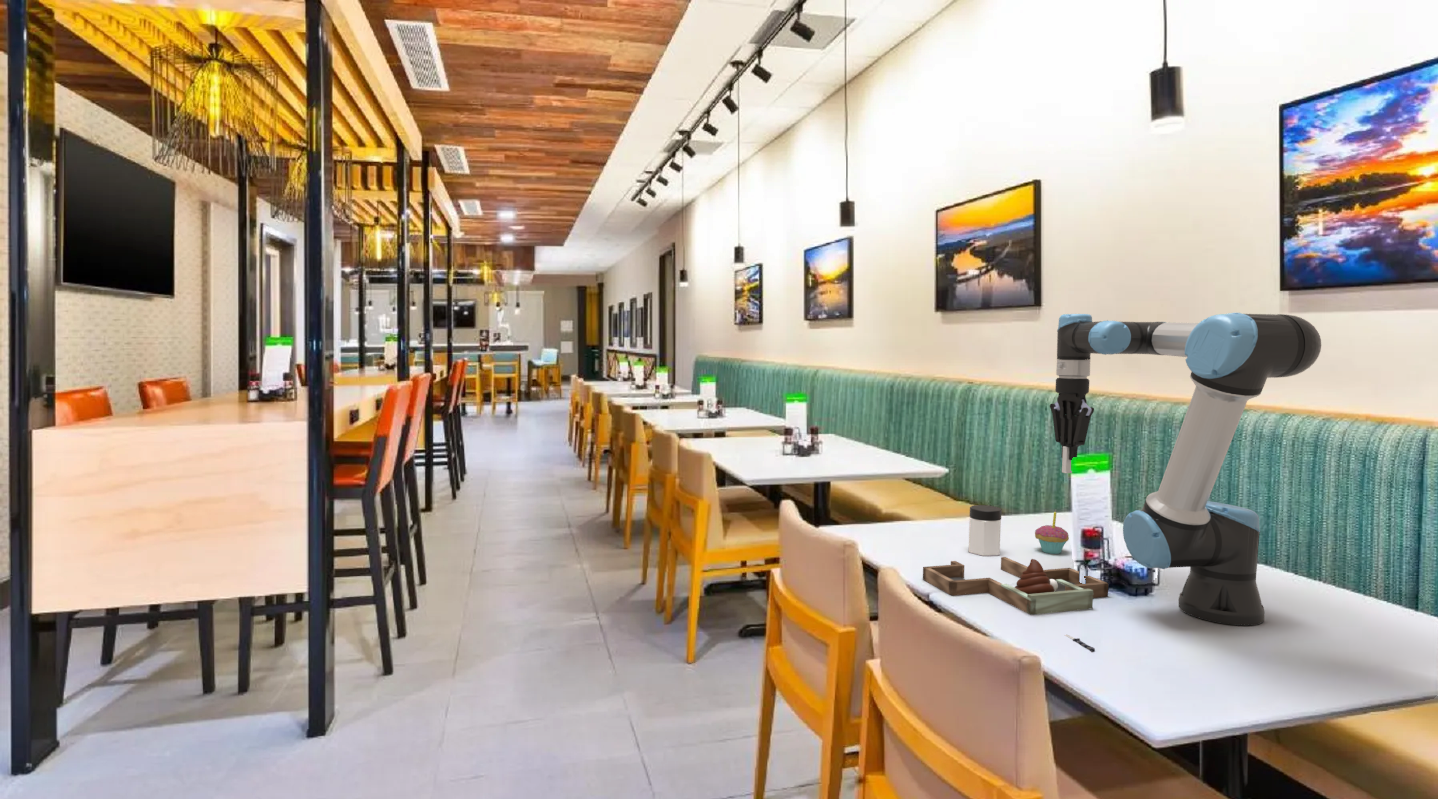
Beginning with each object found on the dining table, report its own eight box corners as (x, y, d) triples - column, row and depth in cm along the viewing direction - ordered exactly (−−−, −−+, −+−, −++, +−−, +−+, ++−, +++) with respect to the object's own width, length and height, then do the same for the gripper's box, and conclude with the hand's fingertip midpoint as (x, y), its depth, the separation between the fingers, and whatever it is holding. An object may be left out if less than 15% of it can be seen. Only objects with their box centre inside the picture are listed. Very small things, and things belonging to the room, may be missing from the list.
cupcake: (1073, 556, 207) (1075, 511, 206) (1041, 555, 207) (1043, 511, 206) (1060, 547, 215) (1061, 504, 215) (1029, 547, 216) (1030, 504, 215)
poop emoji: (1003, 596, 174) (1005, 555, 173) (1036, 593, 176) (1038, 552, 175) (1032, 611, 164) (1033, 568, 164) (1066, 608, 166) (1068, 565, 166)
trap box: (1127, 605, 168) (1128, 587, 168) (991, 618, 159) (992, 599, 159) (1036, 566, 197) (1036, 550, 197) (916, 575, 188) (917, 559, 188)
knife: (1101, 653, 143) (1102, 648, 143) (1091, 654, 143) (1091, 649, 142) (1030, 617, 162) (1031, 613, 161) (1020, 618, 161) (1021, 614, 161)
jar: (1007, 553, 209) (1009, 508, 209) (990, 558, 204) (992, 513, 203) (977, 546, 216) (979, 503, 215) (960, 550, 211) (962, 507, 210)
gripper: (1041, 376, 196) (1038, 468, 198) (1078, 378, 184) (1074, 477, 186) (1067, 376, 198) (1063, 467, 200) (1105, 378, 186) (1100, 476, 188)
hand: (1068, 472), depth 193 cm, fingers closed
